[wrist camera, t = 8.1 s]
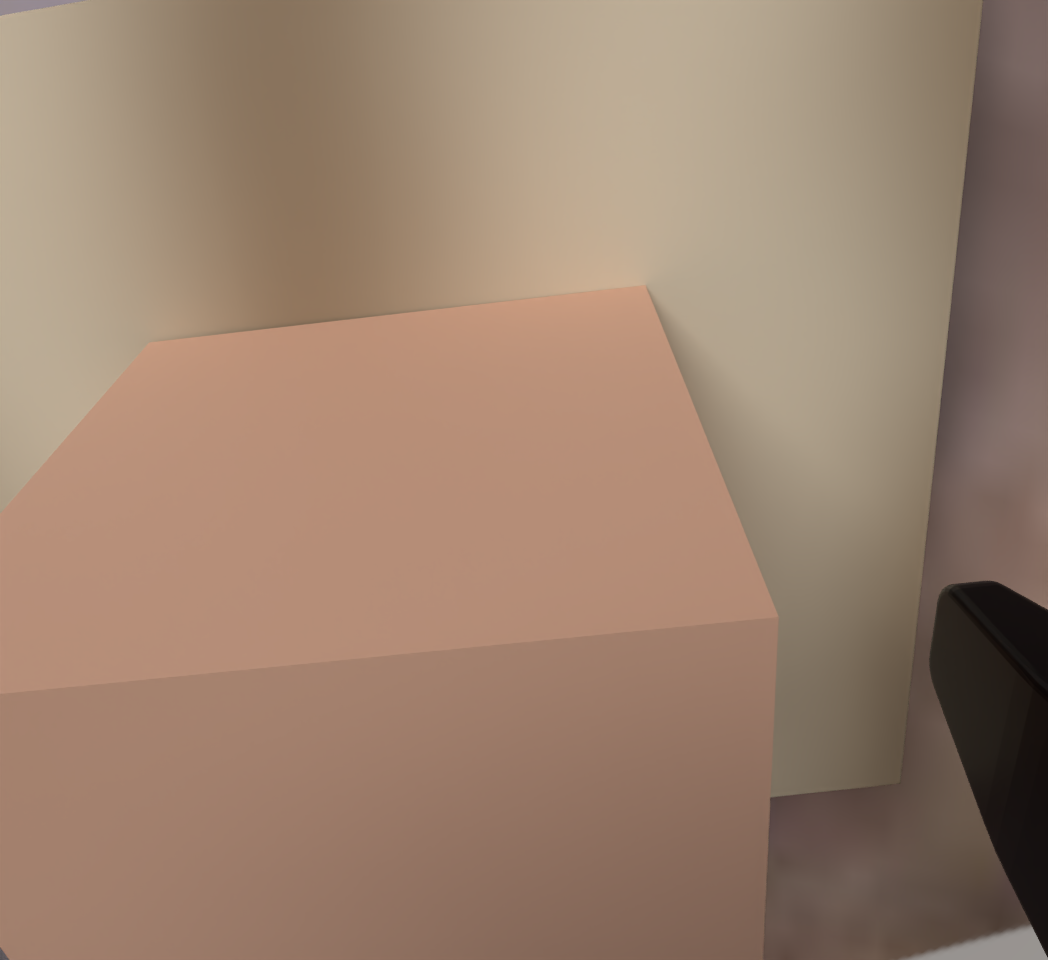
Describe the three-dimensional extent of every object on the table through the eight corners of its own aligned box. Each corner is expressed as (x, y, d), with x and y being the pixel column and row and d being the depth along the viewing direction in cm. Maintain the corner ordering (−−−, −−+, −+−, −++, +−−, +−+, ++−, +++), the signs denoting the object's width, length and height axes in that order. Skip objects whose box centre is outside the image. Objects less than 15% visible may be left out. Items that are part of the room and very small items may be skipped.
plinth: (885, -139, 9) (1000, -160, 7) (844, 661, 15) (900, 783, 13) (-132, 40, 10) (-310, 71, 8) (202, 735, 16) (153, 863, 13)
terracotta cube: (646, 285, 9) (779, 616, 5) (662, 662, 11) (756, 1098, 7) (149, 341, 9) (-171, 712, 5) (276, 699, 12) (143, 1143, 7)
